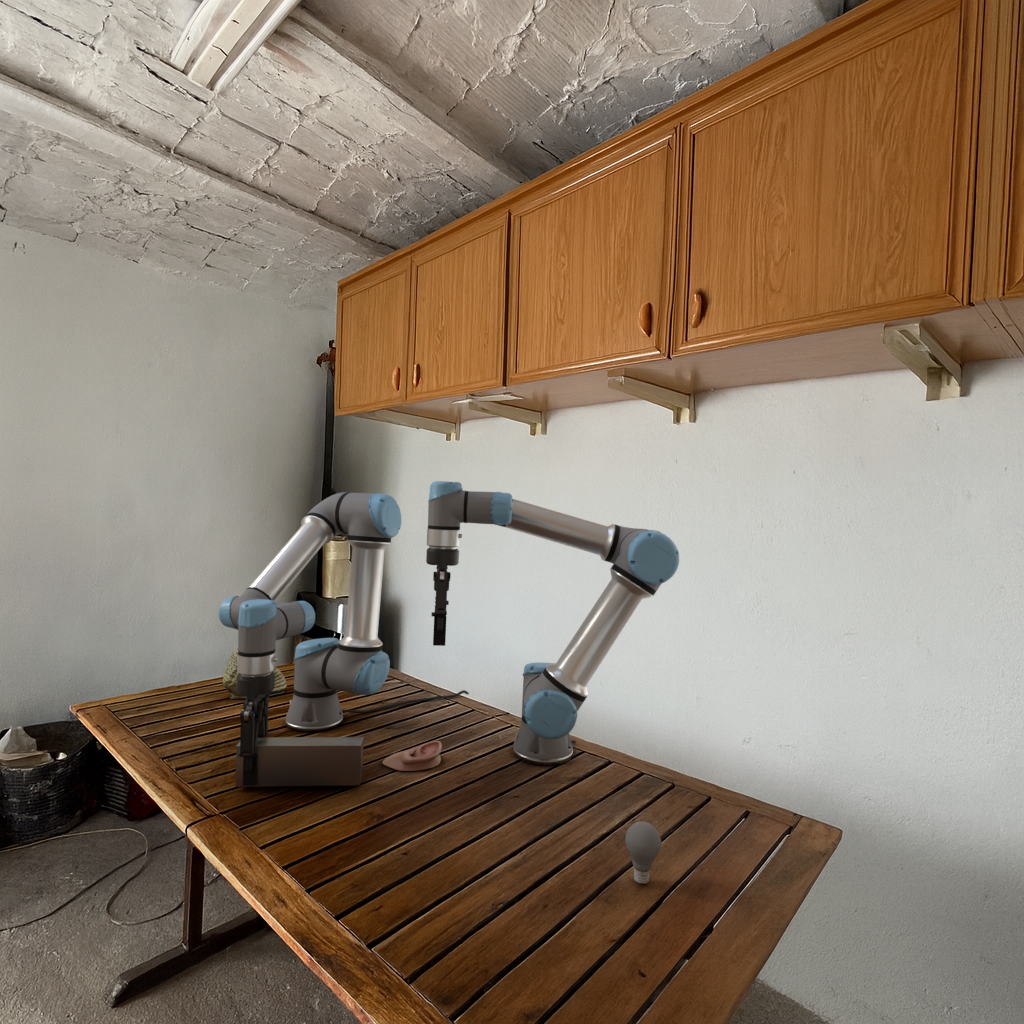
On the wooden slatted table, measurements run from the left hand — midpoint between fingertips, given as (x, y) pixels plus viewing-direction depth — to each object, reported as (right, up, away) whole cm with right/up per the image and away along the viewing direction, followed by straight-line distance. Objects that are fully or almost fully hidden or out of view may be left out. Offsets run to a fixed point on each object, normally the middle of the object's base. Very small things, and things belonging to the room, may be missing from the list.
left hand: (253, 779), depth 137 cm
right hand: (+39, +28, +11) cm, 49 cm away
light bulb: (+78, -6, -29) cm, 83 cm away
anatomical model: (+32, -3, +16) cm, 36 cm away
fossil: (-25, +1, +61) cm, 66 cm away
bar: (+10, -1, +1) cm, 10 cm away
